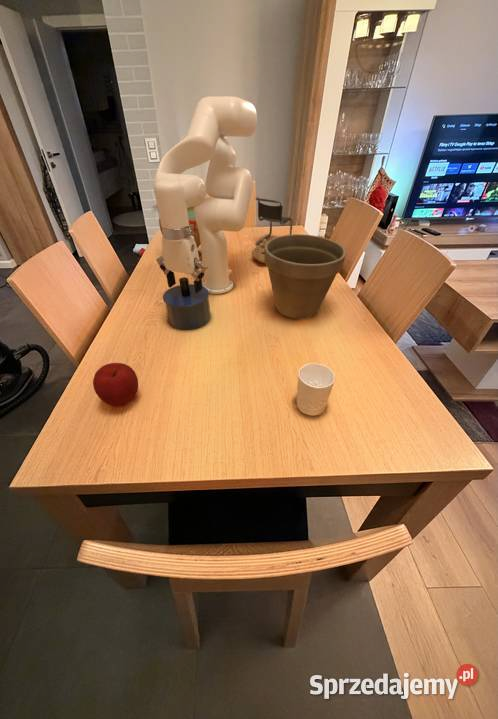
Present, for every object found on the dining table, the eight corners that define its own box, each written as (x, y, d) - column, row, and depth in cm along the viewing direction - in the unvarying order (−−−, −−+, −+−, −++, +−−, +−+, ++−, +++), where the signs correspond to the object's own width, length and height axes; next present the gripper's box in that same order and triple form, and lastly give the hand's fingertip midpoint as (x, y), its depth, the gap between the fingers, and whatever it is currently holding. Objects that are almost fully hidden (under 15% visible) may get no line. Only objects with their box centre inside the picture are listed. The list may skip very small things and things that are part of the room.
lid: (179, 284, 103) (176, 266, 99) (217, 291, 99) (215, 273, 95) (154, 304, 93) (149, 285, 89) (194, 313, 89) (191, 294, 85)
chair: (254, 245, 153) (254, 197, 139) (270, 235, 165) (271, 190, 150) (276, 249, 148) (279, 200, 134) (291, 239, 159) (295, 193, 145)
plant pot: (349, 314, 102) (364, 252, 88) (291, 337, 93) (298, 270, 79) (302, 286, 119) (309, 229, 105) (249, 302, 109) (249, 242, 95)
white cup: (291, 394, 75) (295, 364, 68) (322, 392, 75) (329, 362, 69) (297, 419, 69) (302, 389, 62) (331, 416, 69) (339, 386, 63)
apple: (121, 421, 69) (107, 391, 62) (94, 404, 72) (78, 374, 66) (151, 395, 75) (141, 365, 68) (124, 381, 78) (113, 351, 72)
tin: (183, 305, 108) (180, 283, 102) (217, 312, 104) (215, 290, 98) (161, 324, 98) (156, 301, 93) (197, 333, 94) (194, 310, 89)
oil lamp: (253, 268, 132) (254, 250, 127) (250, 255, 143) (250, 238, 138) (278, 267, 133) (279, 249, 127) (272, 254, 144) (273, 237, 139)
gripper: (210, 231, 83) (215, 288, 94) (158, 224, 88) (169, 278, 99) (196, 240, 78) (203, 299, 89) (142, 232, 83) (155, 288, 94)
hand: (185, 288), depth 94 cm, fingers open, 9 cm apart
